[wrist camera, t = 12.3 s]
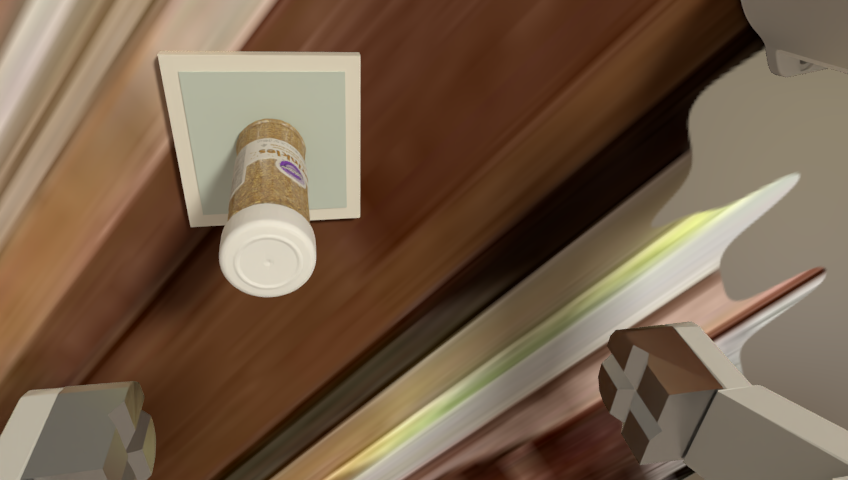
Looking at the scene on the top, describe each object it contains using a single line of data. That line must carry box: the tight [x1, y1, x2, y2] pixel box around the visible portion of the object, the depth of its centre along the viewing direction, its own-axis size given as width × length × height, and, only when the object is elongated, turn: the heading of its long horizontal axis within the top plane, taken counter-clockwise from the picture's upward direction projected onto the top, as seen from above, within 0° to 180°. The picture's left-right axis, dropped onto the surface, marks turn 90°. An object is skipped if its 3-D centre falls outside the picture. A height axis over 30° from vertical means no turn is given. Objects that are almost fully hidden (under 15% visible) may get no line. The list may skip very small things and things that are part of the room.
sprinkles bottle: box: [219, 119, 316, 297], centre depth 32 cm, size 5×5×14 cm
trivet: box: [158, 51, 360, 227], centre depth 38 cm, size 12×12×1 cm
